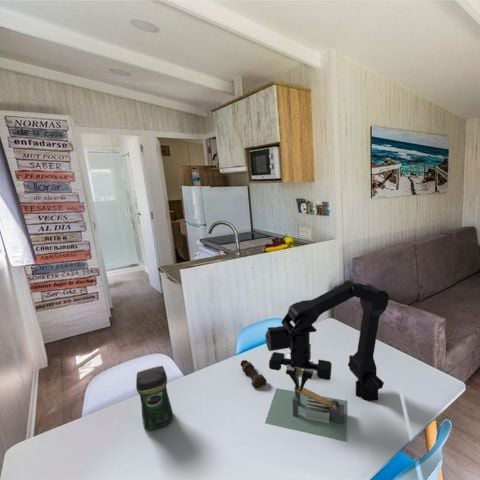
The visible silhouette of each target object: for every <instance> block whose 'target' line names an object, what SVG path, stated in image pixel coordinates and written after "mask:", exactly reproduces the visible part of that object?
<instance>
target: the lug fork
mask: <svg viewBox="0 0 480 480" xmlns="http://www.w3.org/2000/svg"><path fill="white" fill-rule="evenodd" d="M294 391H295V390H294ZM292 402H293V416H295V417H298V406H300V405H301V396H300V393H299V392H297V391H295V397H293V399H292Z"/></svg>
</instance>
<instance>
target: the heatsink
mask: <svg viewBox="0 0 480 480" xmlns="http://www.w3.org/2000/svg"><path fill="white" fill-rule="evenodd" d="M328 400H330V399H328ZM330 410H331V408H329V407H327V406H325V405H323V404H321V403H319V402H317V401H315V400H313V399H311V398H309V397H308V402H307V405H306V420H308V421H313V422H317V423H322V424H327V425H329V423H330Z"/></svg>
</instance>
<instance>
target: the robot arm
mask: <svg viewBox="0 0 480 480" xmlns="http://www.w3.org/2000/svg"><path fill="white" fill-rule="evenodd" d="M354 297H355V298H359V302H360V307H361V309H362V316H361V324H360V331H359V337H358V344H357V351H356V352H355V353H354V354H353V355H349V357H348V359H349V360H348V364H347V366H348V367H349V371H350V372H351V373H352V375H354V376H355V377H356V378H357V380H356V381H355V397H358V398H360V399H362V400H364V401H366V402H374V401H379V390H380V389H381V390H382V389H383V386H384V385H385V383H384V381H383V380H382V379H381V378H380V377H378V375H377V366H376V361H375V358H374V354H375V348H376V343H377V337H378V336H377V335H378V329H379V322H380V317H381V315H382V314H383V313H384V312H386V310H387V308H388V305H389V301H390V295H389V294H388V292H386V291H385V290H383V289H381V288H379V287H378V286H375V285H374V284H371V283H369V284H368V283H367V284H363V283H359V282H356V281H353V280H352V279H350V280H349V279H348V280H345V281H344V282H343V283H342V284H339V285H338V286H336V287H333V288H332V289H331V290H329V291H327V292H325V293H323V294H320V295H319V296H317V297H315V298H313V299H307V300H306V299H305V300H301V301H298V302H294V303H293V304H290V305H289V307H288V310H287V313H286V314H285V316H284V317H283V318H282V320H281V322H280V323H281V326H270V327H267V331H266V333H265V342H266V347H267V350H268V351H269V352H272V353H271V357H270V358H269V361H268V368H269V369H270V370H274V371H280V370H282V365H283V366H285V368H286V371H285V374H286V375H289V377H290V379H291V380H292V382H293V384H294V386H295V385H296V387H297V389H299V385H300V386H301V390H302V389H303V387H304V386H305V384H306V383H307V381H308V380H309V379H310V380H311V379H312V378H313V376H314V375H313V374H314V372H316V376H317V378H318V379H320V380H326V381H331V380H332V379H331V378H332V377H331V376H332V365H333V364H332V362H331V361H330V360H325V359H318V362H317V363H314V361H311V358H312V354H311V353H312V352H311V346H312V345H311V343H310V334H311V333H316V332H317V330H318V329H316V327H314V325H313V324H314V323H316V322H317V321H318V319H319V318H320V316H321V315H322V314H324V313H326V312H328V311H330V310H332V309H334V308H335V307H337V306H339V305H341V304H343V303H345V302H347V301H349V300H350V299H353V298H354ZM291 322H292V323H293V324H294V325H293V324H292V323H291ZM284 349H288V350H289V349H290V350H291V359H288V358H287V357H285V356H286V355H285V353H283V352H277V351H279V350H284ZM273 351H274V352H273ZM298 368H300V369H301V370H303V371H302V375H301V382H300V378H299V377H300V375H299V374H298ZM304 388H305V387H304Z"/></svg>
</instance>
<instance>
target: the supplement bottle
mask: <svg viewBox="0 0 480 480" xmlns="http://www.w3.org/2000/svg"><path fill="white" fill-rule="evenodd" d="M286 358H288V359H291V350H290V349H289V348H288V350H287V356H286ZM301 373H302V369H300V368H298V375H300V374H301Z"/></svg>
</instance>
